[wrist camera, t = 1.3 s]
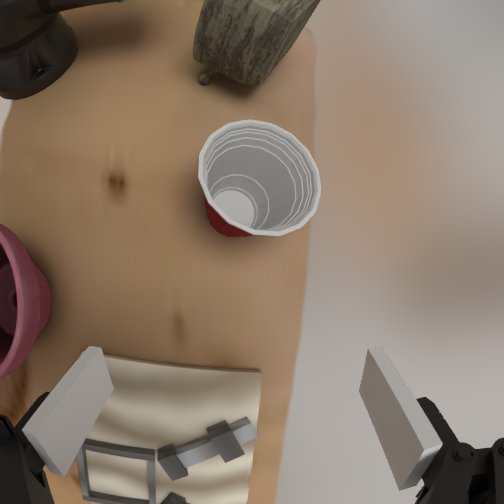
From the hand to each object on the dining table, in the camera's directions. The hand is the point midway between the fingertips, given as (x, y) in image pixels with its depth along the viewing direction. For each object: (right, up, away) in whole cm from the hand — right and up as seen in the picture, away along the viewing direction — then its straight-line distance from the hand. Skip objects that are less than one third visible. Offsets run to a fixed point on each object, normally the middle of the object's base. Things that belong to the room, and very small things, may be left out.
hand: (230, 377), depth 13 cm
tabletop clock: (-1, +32, +26) cm, 41 cm away
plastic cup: (-1, +11, +22) cm, 24 cm away
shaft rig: (-9, -21, +15) cm, 27 cm away
